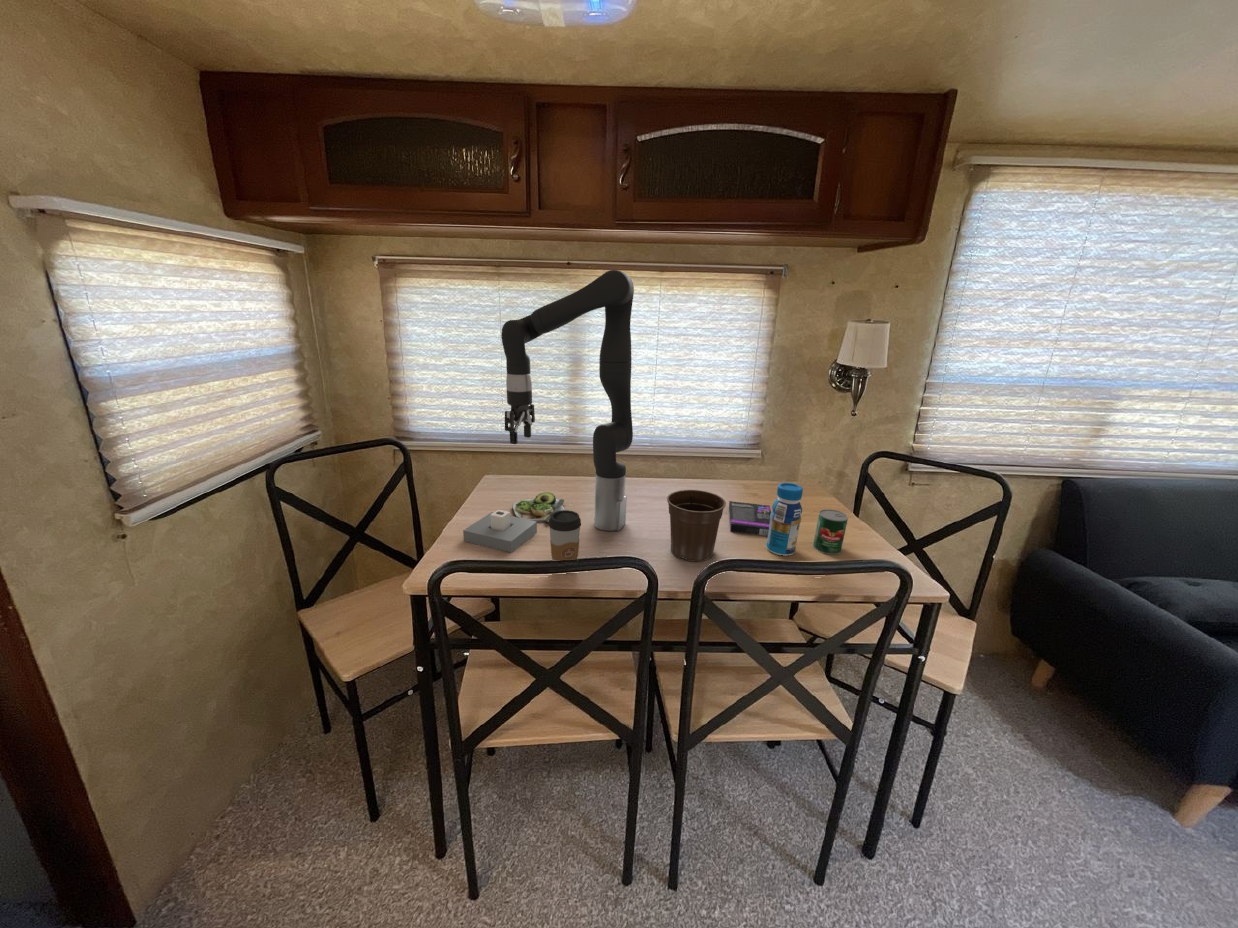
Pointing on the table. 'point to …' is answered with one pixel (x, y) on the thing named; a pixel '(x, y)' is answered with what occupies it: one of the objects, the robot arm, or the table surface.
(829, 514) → the canned tomato
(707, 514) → the plant pot
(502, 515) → the block
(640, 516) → the table surface
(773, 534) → the beverage bottle
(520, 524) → the outlet box
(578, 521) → the coffee cup
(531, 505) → the avocado toast plate
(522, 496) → the table surface
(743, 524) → the box
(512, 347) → the robot arm
